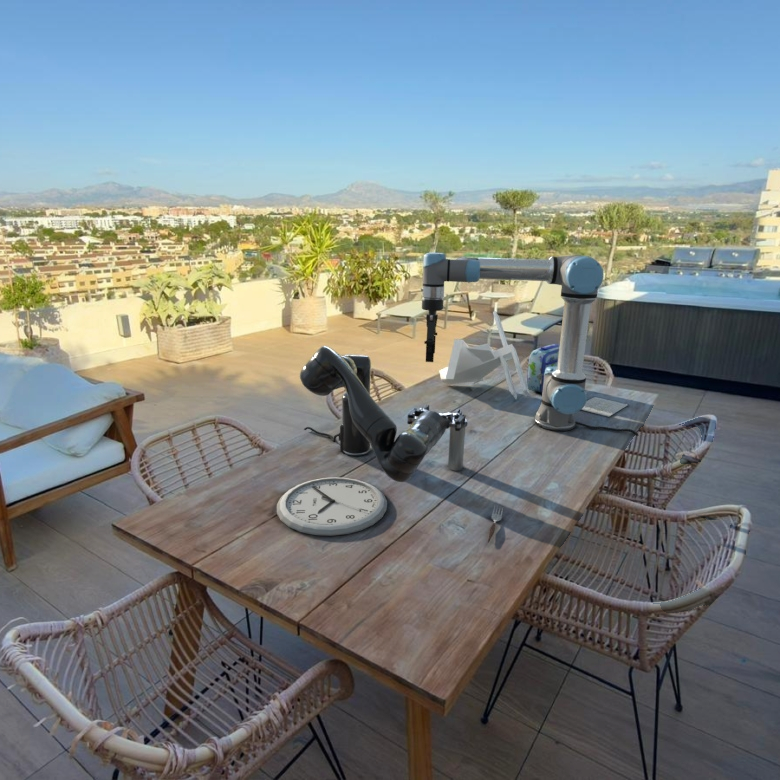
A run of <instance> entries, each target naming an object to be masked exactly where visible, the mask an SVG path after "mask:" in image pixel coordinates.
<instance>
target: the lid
mask: <svg viewBox="0 0 780 780" xmlns="http://www.w3.org/2000/svg"><path fill="white" fill-rule="evenodd" d="M453 420H454V417H453ZM464 427H465V428H467V427H468V419H467V418H466V417H465V425H464V426H463V427H462V428H464Z"/></svg>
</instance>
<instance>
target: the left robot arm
mask: <svg viewBox="0 0 780 780" xmlns="http://www.w3.org/2000/svg"><path fill="white" fill-rule="evenodd" d="M371 377H372V361H371V358H370V357H369V356H368V355H360V354H359V355H358V354H340V353H339V352H337V351H336V350H334V349H333V348H332V347H329V346H327V345H323V346H321V347H319V349H318V350H316V351H315V352H314V354H313V355H312V356H311V357H310V358H309V360H307V362H305V364H304V365H303V367H302V368H301V369H300V372H299V379H300V382H301V383H302V385H303V386H304V388H306V390H307V391H309V392H311V393H312V394H315V395H317V396H320V397H327V396H329V395H330V394H331V393H332V392H333V391H334V390H337V389H341V388H344V387H345V390H346V392H344V393H343V394H342V395H341V417H342V419H341V420H342V421H341V422H342V423H341V424H340V425H339V432H338V433H337V434H335V435H334V436H332V435H331V434H329V433H325V432H321V431H318V430H316V429H314V428H312V427H310V426H306V427H304V428H303V431H307V430H310V431H312V432H313V433H315V434H317V435H321V436H324V437H325V436H326V437H328V438H330V439H331V441H332V442H336V440H337V438H338V441H339V452H340V453H343V454H345V455H347V456H352V457H360V456H361V457H362V456H365V455H367V454H369V453H370V452H371V448H372V451H373V453H374V455H375V457H376V460H377V462H378V464H379V466H380V468H381V470H382V471H383V473H384V474H385V475H386V476H387V477H388V478H389V479H391V480H392V481H395V482H398V483H405V482H407V481H409V480H410V479H411V478H412V476H413V475H414V474H415V472H416V471H417V469H418V467H419V466H420V464H421V463H422V461H423V460H424V458H425V457H426V455H428V454H429V452H430V451H431V450H432V448H434V447H435V446H436V445H437V444H438V442H439V441H440V439H441V438H442V437H443V435H444V434H445V433H446V430H447V429H450V427H454V428H455V431H460V430H461V429H462V427H463V426H464V425H465V418H466V416H467V415H466V414H465V413H464V414H463V411H462V410H461V409H460V408H456V410H455V411H454V412H445V413H441V412H439V413H438V412H437V411H434V410H430V405H429V404H425V405H424V406H422V407H420V408H419V409H418V408H417V407H413V408H411V409H410V411H409V412H408V414H407V420H406V421H407V423H406V424H407V425H409V427H408V428H407V430H405V431H402V432H401V433H400V434H399V435H398V436H397V433H398V427H397V424H396V422H394V421H393V419H392V418H391V417H389V415H388V414H387V413H386V412H385V411H384V410H383V409H382V408H381V406H379V405H378V403H377V402H376V401H375V400H374V399H373V397H372V396H371ZM453 417H454V420H453ZM396 436H397V437H396Z"/></svg>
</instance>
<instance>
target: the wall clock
mask: <svg viewBox="0 0 780 780" xmlns="http://www.w3.org/2000/svg"><path fill="white" fill-rule="evenodd" d="M387 509H388V500H387V498H386V496H385V494H384V493H383V492H382V491H381V490H380V489H379V488H377V487H376V486H374V485H372V484H371V483H369V482H365V481H362V480H359V479H355V478H349V477H338V476H337V477H335V476H333V477H332V476H331V477H322V478H317V479H312V480H307V481H305V482H302V483H299V484H297V485H295V486H293V487H292V488H290V489H288V490H287V491H286V492H285V493H284V494H283V495H281V496H280V498H279V499H278V502H277V503H276V515H277V517H278V518H279V520H280V521H281V522H282V523H283V524H285V525H286V526H287V527H288V528H290V529H293V530H295V531H297V532H299V533H303V534H308V535H312V536H327V537H328V536H329V537H331V536H332V537H333V536H342V535H350V534H352V533H356V532H361V531H363V530H366V529H368V528H369V527H372V526H373V525H375V524H376V523H378V522H379V521H380V520H381V519H382V518H383V517H384V516H385V514H386V512H387Z"/></svg>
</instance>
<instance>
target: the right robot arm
mask: <svg viewBox="0 0 780 780" xmlns="http://www.w3.org/2000/svg"><path fill="white" fill-rule="evenodd" d="M422 264H423V265H422V288H420V292H421V293H422V294H421V296H422V299H421V309H422V310H423V311H428V313H426V316H425V320H426V340H424V342H423V343H424V344H425V362H426V363H434V359H435V357H434V356H435V353H436V338H437V337H436V336H438V332H437V329H436V328H437V324H438V318H439V315H438V314H437V311H438V312H439V311H442V310H444V299H443V298H444V297H445V282H447V283H449V282H452V283H453V282H457V283H468V284H470V283H477V282H479V281H480V280H495V281H497V280H499V281H500V280H501V281H526V282H527V281H531V282H546V283H547V284H548V285H557V286H561V289H560V298H561V299H562V300H563V303H564V305H563V313H562V322H561V330H560V339H559V345H560V346H559V355H558V364H557V366H553V367H547V368H546V369H545V373H544V382H543V392H542V393H541V402H540V405H539V407H538V410H537V411H536V413H535V416H534V424H535V425H536V426H537V427H539V428H542V429H544V430H549V431H556V432H567V431H572V430H574V429H575V428H576V425H577V426H581V427H584V428H586V429H591V430H606V431H612V432H619V433H620V432H625V433H631V434H633V435H634V436H637V437H639V433H638V432H637V431H635V430H633V429H630V428H614V427H609V426H592V425H589V424H586V423H583V422H579V421H576V418H575V417H576V416H575V414H576V413H579V412H580V411H582V410H581V409H582V408H583V407H584V406H585V404H586V401H588V397H587V392H586V389H585V388H586V383H587V382H586V381H587V375H586V374H585V373H584V371H583V369H584V361H585V355H586V347H587V339H588V338H587V337H588V330H589V324H590V318H591V317H590V316H591V308H592V303H593V302H594V301H596V300H597V298H598V294H599V293H598V291H599V288H601V285H602V284H603V281H604V269H603V267H602V265H601V264H600V262H599V261H597V260H596V259H595V258H594V257H592V256H587V255H581V254H574V255H573V254H572V255H565V256H551V257H549V258H548V259H545V258H544V259H543V258H542V259H541V258H540V259H539V258H501V257H500V258H497V257H496V258H495V257H494V258H492V257H466V256H460V257H457V258H455V259H451V258H449V259H448V258H447V257H446V253H444V252H427V253H425V254H424V255H423V263H422Z"/></svg>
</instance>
